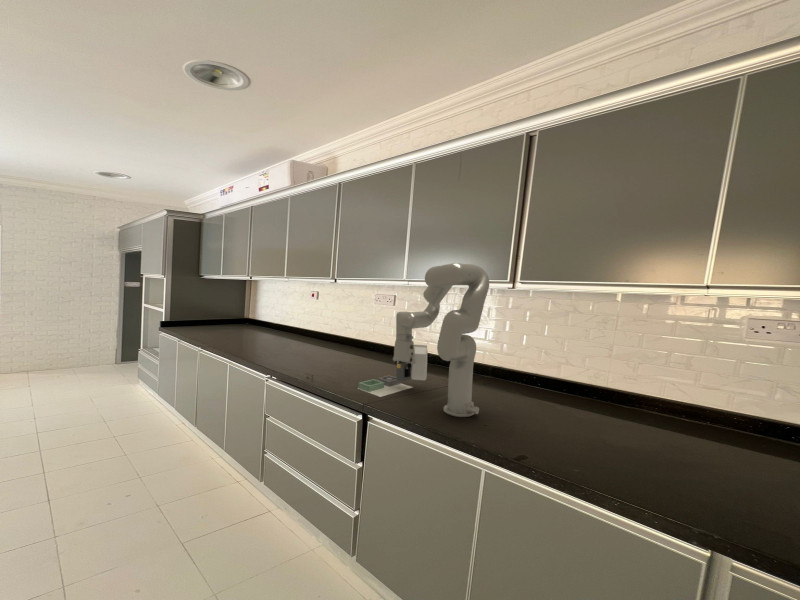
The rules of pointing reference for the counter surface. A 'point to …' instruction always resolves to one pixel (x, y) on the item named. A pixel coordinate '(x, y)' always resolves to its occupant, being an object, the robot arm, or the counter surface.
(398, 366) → the plug
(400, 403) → the counter surface
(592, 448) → the counter surface
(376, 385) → the green rectangular frame
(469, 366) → the robot arm
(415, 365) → the milk carton
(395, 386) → the board
